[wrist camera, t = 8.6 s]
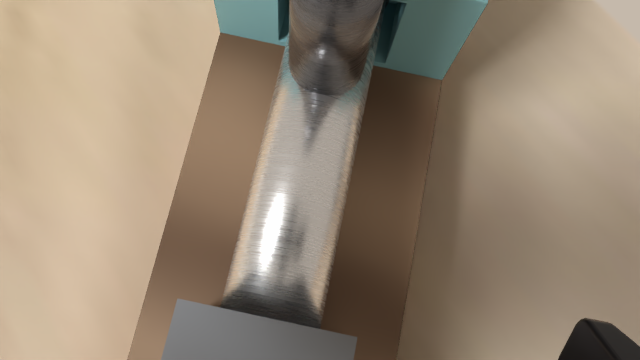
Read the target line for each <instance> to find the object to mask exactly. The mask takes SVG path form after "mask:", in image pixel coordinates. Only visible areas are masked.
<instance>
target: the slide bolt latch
mask: <svg viewBox="0 0 640 360" xmlns="http://www.w3.org/2000/svg"><path fill="white" fill-rule="evenodd" d="M284 49H285V46H281V45H277V44H272V43H267V42H263V41H258V40H254V39H249V38H244V37H240V36H235V35H230V34H226V33H221V32H220V36H219V39H218V43H217V46H216V50H215V53H214V57H213V60H212V64H211V67H210V71H209V74H208V78H207V81H206V85H205V88H204V92H203V95H202V99H201V102H200V106H199V109H198V113H197V116H196V120H195V123H194V127H193V130H192V134H191V137H190V141H189V145H188V148H187V152H186V155H185V159H184V162H183V166H182V169H181V173H180V176H179V180H178V183H177V187H176V190H175V194H174V197H173V201H172V204H171V208H170V211H169V215H168V218H167V222H166V225H165V229H164V232H163V236H162V239H161V243H160V246H159V250H158V253H157V257H156V260H155V264H154V267H153V271H152V274H151V278H150V281H149V285H148V288H147V292H146V295H145V299H144V303H143V306H142V310H141V313H140V317H139V320H138V324H137V327H136V331H135V334H134V338H133V341H132V345H131V348H130V352H129V355H128V359H127V360H396V358H397V352H398V346H399V340H400V333H401V327H402V321H403V315H404V309H405V303H406V297H407V291H408V285H409V279H410V272H411V266H412V260H413V254H414V248H415V242H416V236H417V230H418V224H419V218H420V211H421V205H422V199H423V193H424V187H425V181H426V175H427V169H428V163H429V157H430V150H431V144H432V138H433V132H434V126H435V120H436V114H437V108H438V102H439V96H440V89H441V83H442V80H439V79H434V78H430V77H425V76H420V75H416V74H411V73H407V72H402V71H397V70H393V69H388V68H383V67H379V66H374V65H373V69H372V74H371V79H370V83H369V88H368V93H367V98H366V103H365V108H364V113H363V118H362V123H361V128H360V133H359V138H358V143H357V148H356V153H355V158H354V163H353V168H352V173H351V178H350V183H349V188H348V193H347V198H346V203H345V208H344V213H343V218H342V223H341V228H340V233H339V238H338V243H337V248H336V253H335V258H334V263H333V268H332V273H331V278H330V283H329V288H328V293H327V298H326V303H325V308H324V312H323V317H322V322H321V327H320V329H317V328H313V327H308V326H303V325H299V324H294V323H289V322H285V321H280V320H275V319H271V318H266V317H261V316H257V315H252V314H248V313H243V312H238V311H234V310H229V309H224V308H220V306H221V302H222V298H223V294H224V290H225V286H226V282H227V278H228V274H229V270H230V266H231V262H232V258H233V254H234V250H235V246H236V242H237V238H238V234H239V230H240V226H241V222H242V218H243V214H244V210H245V206H246V202H247V198H248V194H249V190H250V186H251V182H252V178H253V174H254V170H255V166H256V162H257V158H258V154H259V150H260V146H261V142H262V138H263V134H264V129H265V125H266V121H267V117H268V113H269V109H270V105H271V101H272V97H273V93H274V89H275V85H276V81H277V77H278V73H279V69H280V65H281V61H282V57H283V53H284Z"/></svg>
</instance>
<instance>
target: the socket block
mask: <svg viewBox="0 0 640 360" xmlns="http://www.w3.org/2000/svg"><path fill="white" fill-rule="evenodd" d="M214 3H215V8H216V13H217V18H218V23H219V28H220V32H221V33H226V34H230V35H235V36H240V37H244V38H249V39H254V40H258V41H263V42H267V43H272V44H277V45H281V46H285V45H286V41H287V37H288V33H289V0H214ZM487 4H488V0H389V3H388V5H387V6H386V8H385V9H384V14H383V19H382V24H381V29H380V34H379V39H378V44H377V49H376V54H375V59H374V64H373V65H374V66H379V67H383V68H388V69H393V70H397V71H402V72H407V73H411V74H416V75H420V76H425V77H430V78H434V79H439V80H442V79H443V78H444V76H445V74H446V73H447V71H448V69H449V68H450V66H451V64H452V63H453V61H454V59H455V57H456V56H457V54H458V52H459V51H460V49H461V47H462V46H463V44H464V42H465V41H466V39H467V37H468V36H469V34H470V32H471V30H472V29H473V27H474V25H475V24H476V22H477V20H478V19H479V17H480V15H481V14H482V12H483V10H484V9H485V7H486V5H487Z"/></svg>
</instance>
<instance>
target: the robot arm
mask: <svg viewBox="0 0 640 360" xmlns="http://www.w3.org/2000/svg"><path fill="white" fill-rule="evenodd" d="M558 360H640V346H638V345H637V344H636V343H635V342H634V341H632V340H631V339H630V338H629V337H627V336H626V335H625V334H624V333H623V332H621V331H620V330H619V329H618V328H616V327H615V326H614V325H613V324H611V323H608V322H604V321H599V320H594V319H588V318H584V319H581V320H580V321H579V322H578V323H577V324H576V326H575V327H574V329H573V331H572V333H571V335H570V337H569V339H568V341H567V343H566V345H565V347H564V348H563V350H562V352H561V354H560V356H559V359H558Z"/></svg>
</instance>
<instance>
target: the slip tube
mask: <svg viewBox="0 0 640 360" xmlns="http://www.w3.org/2000/svg"><path fill="white" fill-rule="evenodd" d="M388 3H389V0H289V33H288V37H287V41H286V45H285V49H284V53H283V57H282V61H281V65H280V69H279V73H278V77H277V81H276V85H275V89H274V93H273V97H272V101H271V105H270V109H269V113H268V117H267V121H266V125H265V129H264V134H263V138H262V142H261V146H260V150H259V154H258V158H257V162H256V166H255V170H254V174H253V178H252V182H251V186H250V190H249V194H248V198H247V202H246V206H245V210H244V214H243V218H242V222H241V226H240V230H239V234H238V238H237V242H236V246H235V250H234V254H233V258H232V262H231V266H230V270H229V274H228V278H227V282H226V286H225V290H224V294H223V298H222V302H221V306H220V308H224V309H229V310H234V311H238V312H243V313H248V314H252V315H257V316H261V317H266V318H271V319H275V320H280V321H285V322H289V323H294V324H299V325H303V326H308V327H313V328H317V329H320V327H321V322H322V317H323V312H324V308H325V303H326V298H327V293H328V288H329V283H330V278H331V273H332V268H333V263H334V258H335V253H336V248H337V243H338V238H339V233H340V228H341V223H342V218H343V213H344V208H345V203H346V198H347V193H348V188H349V183H350V178H351V173H352V168H353V163H354V158H355V153H356V148H357V143H358V138H359V133H360V128H361V123H362V118H363V113H364V108H365V103H366V98H367V93H368V88H369V83H370V79H371V74H372V69H373V64H374V59H375V54H376V49H377V44H378V39H379V34H380V29H381V24H382V19H383V14H384V9H385V8H386V6H387V5H388Z"/></svg>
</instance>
